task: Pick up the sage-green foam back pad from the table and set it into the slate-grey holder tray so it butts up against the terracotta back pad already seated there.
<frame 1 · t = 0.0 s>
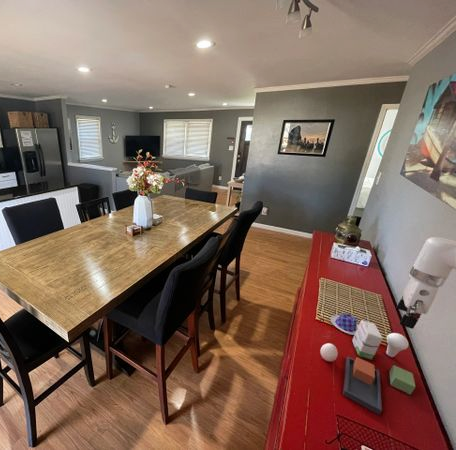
hand: (404, 317, 81), 26 cm above the sideboard, tool pointing down, fingers open, 9 cm apart
holder: (360, 384, 86), on the sideboard
terracotta pad: (361, 374, 89), resting on holder
ink box: (361, 350, 100), on the sideboard
patterned bowl: (345, 326, 112), on the sideboard
lightbulb: (389, 356, 98), on the sideboard
egg: (325, 359, 95), on the sideboard
green pad: (399, 383, 87), on the sideboard
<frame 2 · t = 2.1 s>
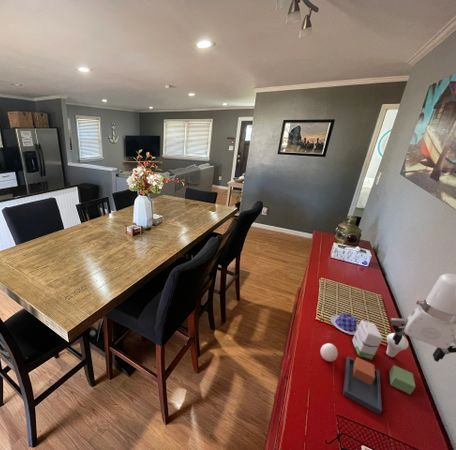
hand: (414, 350, 82), 16 cm above the sideboard, tool pointing down, fingers open, 9 cm apart
nothing on the sideboard moved.
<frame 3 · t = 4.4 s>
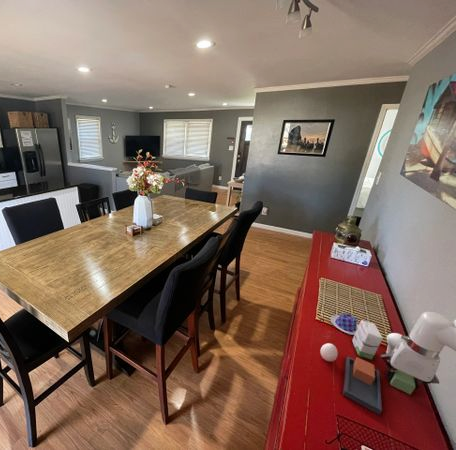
hand: (399, 382, 87), 0 cm above the sideboard, tool pointing down, fingers closed on green pad, 5 cm apart
green pad: (399, 383, 87), on the sideboard, touching gripper
everything else where it was.
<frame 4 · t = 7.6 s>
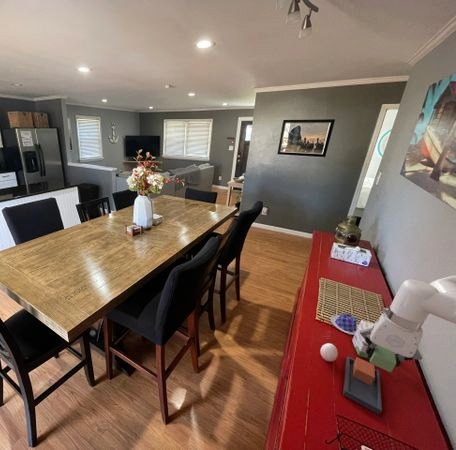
hand: (380, 359, 79), 14 cm above the sideboard, tool pointing down, fingers closed on green pad, 5 cm apart
green pad: (379, 360, 79), point 14 cm above the sideboard, touching gripper
everything else where it was.
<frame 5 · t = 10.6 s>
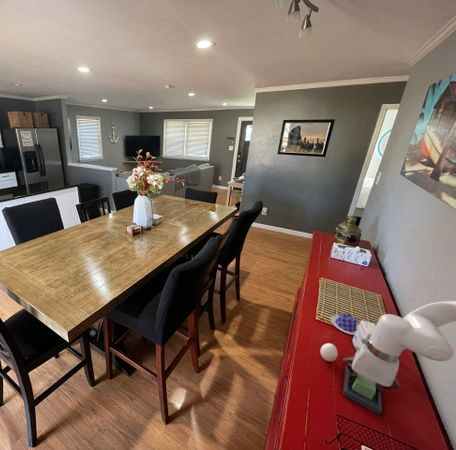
hand: (362, 386, 84), 2 cm above the sideboard, tool pointing down, fingers closed on green pad, 5 cm apart
green pad: (361, 387, 84), point 1 cm above the sideboard, touching gripper
everything else where it was.
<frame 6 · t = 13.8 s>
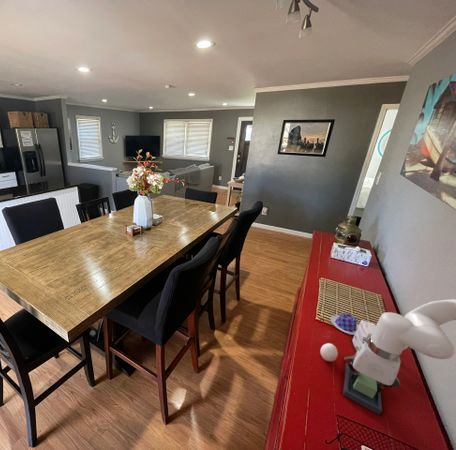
hand: (363, 385, 83), 2 cm above the sideboard, tool pointing down, fingers closed on green pad, 5 cm apart
green pad: (362, 386, 84), point 2 cm above the sideboard, touching gripper
everything else where it was.
when the fingers open (2 cm above the sideboard, at t = 16.4 s): green pad drops 1 cm, resting on holder.
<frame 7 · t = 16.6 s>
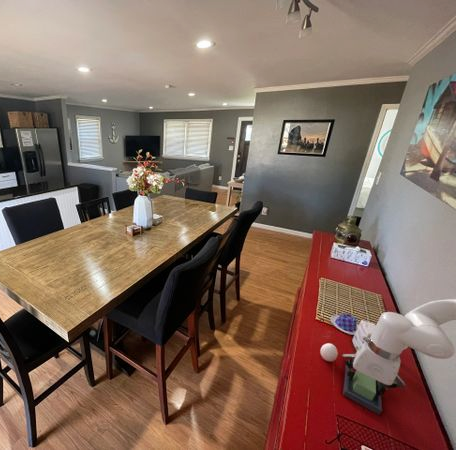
hand: (363, 384, 83), 3 cm above the sideboard, tool pointing down, fingers open, 7 cm apart
green pad: (361, 388, 84), point 1 cm above the sideboard, touching holder
everything else where it was.
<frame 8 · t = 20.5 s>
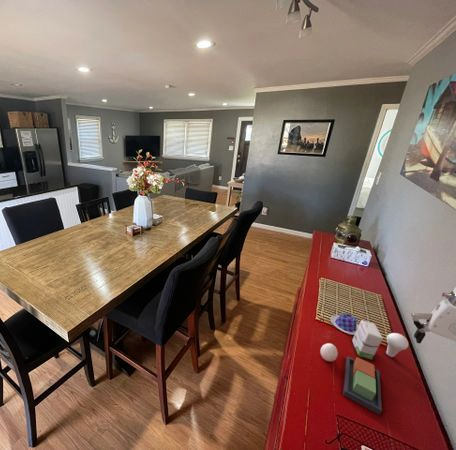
hand: (439, 349, 72), 24 cm above the sideboard, tool pointing down, fingers open, 9 cm apart
nothing on the sideboard moved.
at the end: green pad 0.4 cm from the target spot in the holder, point 0.6 cm above the holder's base; green pad 6.8 cm from the terracotta pad (horizontally); green pad tilted 0° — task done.
